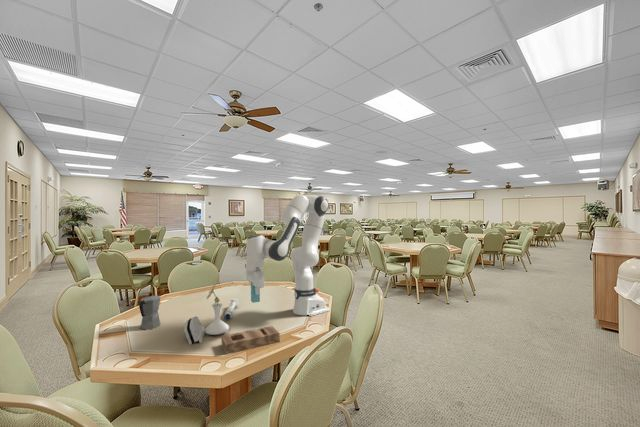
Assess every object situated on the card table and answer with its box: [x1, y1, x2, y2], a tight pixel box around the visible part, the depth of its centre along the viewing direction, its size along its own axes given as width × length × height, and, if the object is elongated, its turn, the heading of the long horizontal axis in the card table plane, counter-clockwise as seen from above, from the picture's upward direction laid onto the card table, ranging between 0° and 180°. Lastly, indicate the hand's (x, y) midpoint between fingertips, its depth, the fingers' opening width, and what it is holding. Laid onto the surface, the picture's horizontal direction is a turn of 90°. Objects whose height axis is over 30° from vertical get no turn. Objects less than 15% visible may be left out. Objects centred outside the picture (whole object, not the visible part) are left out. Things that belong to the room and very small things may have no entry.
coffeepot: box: [138, 292, 161, 330], centre depth 147 cm, size 15×9×18 cm, turn 179°
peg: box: [250, 282, 261, 304], centre depth 142 cm, size 4×4×10 cm
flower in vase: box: [205, 284, 230, 336], centre depth 139 cm, size 13×11×25 cm
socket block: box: [221, 325, 281, 355], centre depth 127 cm, size 24×10×4 cm, turn 119°
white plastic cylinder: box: [223, 297, 240, 321], centre depth 169 cm, size 5×7×25 cm
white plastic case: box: [183, 316, 206, 345], centre depth 135 cm, size 17×5×10 cm, turn 16°
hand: (255, 293), depth 142 cm, fingers closed on peg, 4 cm apart
